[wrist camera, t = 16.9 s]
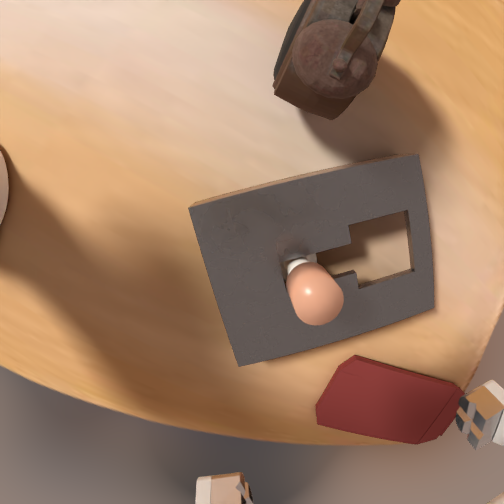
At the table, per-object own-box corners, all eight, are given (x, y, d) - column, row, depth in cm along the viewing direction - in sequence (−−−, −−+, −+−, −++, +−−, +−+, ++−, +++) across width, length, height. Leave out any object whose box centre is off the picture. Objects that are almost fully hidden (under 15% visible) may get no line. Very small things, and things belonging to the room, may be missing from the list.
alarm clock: (300, 7, 29) (349, -100, 10) (356, 32, 30) (443, -51, 11) (254, 108, 33) (275, 39, 13) (316, 134, 34) (403, 102, 14)
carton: (308, 402, 47) (428, 430, 46) (308, 422, 42) (436, 447, 41) (342, 340, 44) (465, 377, 43) (347, 356, 39) (477, 393, 38)
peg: (268, 244, 36) (283, 282, 24) (309, 233, 36) (343, 266, 24) (277, 283, 38) (295, 336, 26) (317, 272, 38) (351, 320, 25)
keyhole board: (415, 292, 39) (434, 307, 34) (238, 344, 39) (238, 366, 35) (397, 154, 34) (418, 153, 30) (195, 202, 35) (188, 207, 30)
